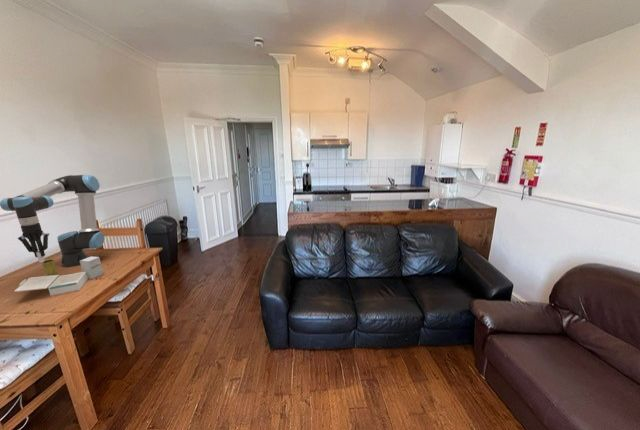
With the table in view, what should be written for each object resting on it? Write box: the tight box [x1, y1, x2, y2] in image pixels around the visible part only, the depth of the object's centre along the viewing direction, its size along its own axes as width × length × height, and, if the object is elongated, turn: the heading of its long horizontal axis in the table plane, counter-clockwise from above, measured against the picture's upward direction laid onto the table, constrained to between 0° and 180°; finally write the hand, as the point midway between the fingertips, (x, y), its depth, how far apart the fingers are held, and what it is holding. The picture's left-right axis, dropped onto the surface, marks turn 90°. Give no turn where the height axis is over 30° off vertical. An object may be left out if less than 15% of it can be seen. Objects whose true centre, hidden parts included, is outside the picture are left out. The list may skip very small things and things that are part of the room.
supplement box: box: [79, 256, 104, 280], centre depth 174 cm, size 7×7×13 cm
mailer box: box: [47, 271, 88, 297], centre depth 162 cm, size 16×13×5 cm
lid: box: [13, 274, 60, 293], centre depth 155 cm, size 18×13×2 cm
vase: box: [41, 258, 60, 285], centre depth 168 cm, size 6×6×14 cm
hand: (42, 261), depth 156 cm, fingers closed
